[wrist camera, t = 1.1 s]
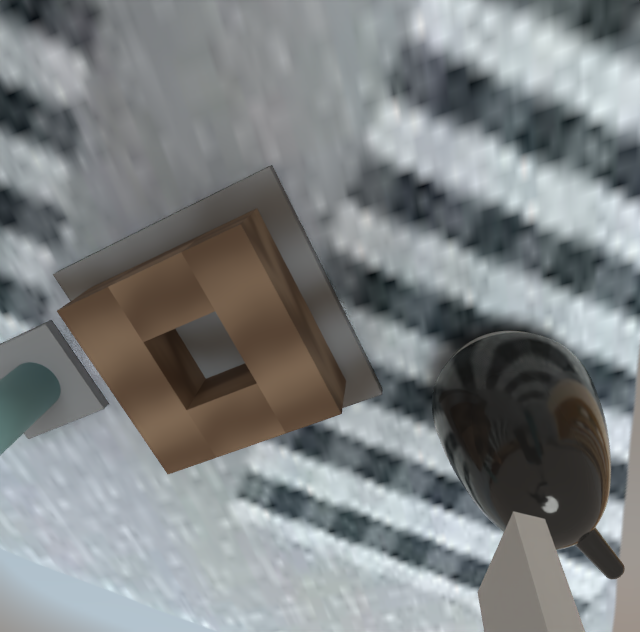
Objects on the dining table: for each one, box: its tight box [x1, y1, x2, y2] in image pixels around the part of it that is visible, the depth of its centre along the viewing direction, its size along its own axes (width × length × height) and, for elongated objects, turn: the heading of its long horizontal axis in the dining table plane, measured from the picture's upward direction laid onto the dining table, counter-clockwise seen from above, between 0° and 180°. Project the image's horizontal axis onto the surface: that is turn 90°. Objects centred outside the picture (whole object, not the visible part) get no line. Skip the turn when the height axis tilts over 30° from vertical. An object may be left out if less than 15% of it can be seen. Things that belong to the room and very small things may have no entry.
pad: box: [0, 320, 109, 439], centre depth 45 cm, size 8×8×1 cm
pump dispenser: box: [432, 331, 624, 579], centre depth 33 cm, size 10×10×15 cm
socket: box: [53, 165, 382, 474], centre depth 39 cm, size 18×18×5 cm
